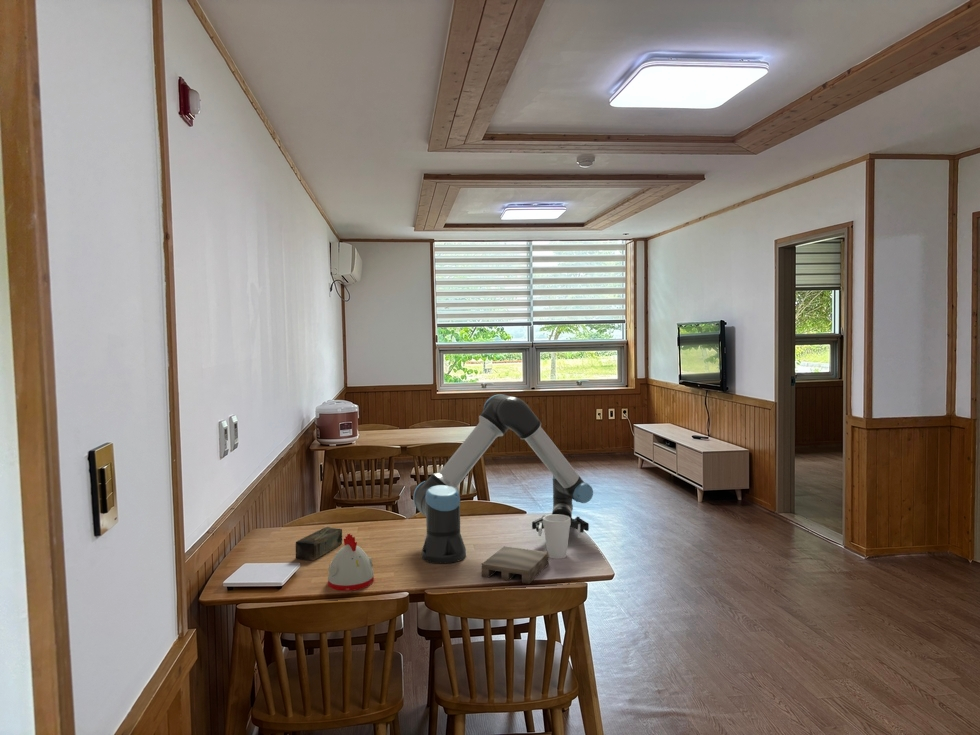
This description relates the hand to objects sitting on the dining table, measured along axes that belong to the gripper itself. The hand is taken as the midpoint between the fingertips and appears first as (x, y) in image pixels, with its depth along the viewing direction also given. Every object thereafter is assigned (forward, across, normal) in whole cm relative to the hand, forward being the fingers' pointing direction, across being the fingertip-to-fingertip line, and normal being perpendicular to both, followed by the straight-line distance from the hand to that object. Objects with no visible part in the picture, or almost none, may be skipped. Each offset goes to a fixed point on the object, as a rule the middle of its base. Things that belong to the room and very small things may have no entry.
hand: (559, 532), depth 219 cm
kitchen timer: (+33, +63, -7) cm, 72 cm away
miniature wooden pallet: (+18, +13, -7) cm, 23 cm away
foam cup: (+3, +1, -7) cm, 8 cm away
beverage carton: (+7, +85, -8) cm, 86 cm away
